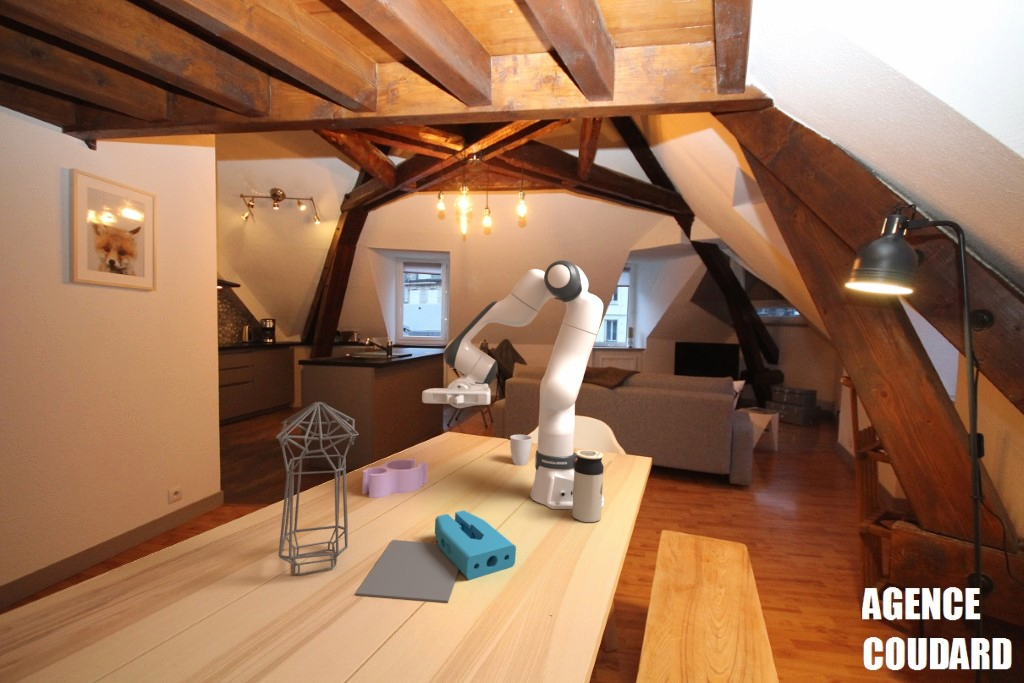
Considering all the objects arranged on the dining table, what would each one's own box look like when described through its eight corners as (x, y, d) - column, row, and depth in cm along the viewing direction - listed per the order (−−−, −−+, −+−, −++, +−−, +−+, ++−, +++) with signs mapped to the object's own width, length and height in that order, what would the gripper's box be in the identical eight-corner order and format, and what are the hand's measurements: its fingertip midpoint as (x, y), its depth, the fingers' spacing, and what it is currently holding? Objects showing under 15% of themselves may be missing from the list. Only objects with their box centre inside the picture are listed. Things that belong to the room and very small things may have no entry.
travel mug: (567, 518, 129) (570, 454, 129) (577, 509, 136) (580, 447, 136) (595, 525, 126) (599, 459, 125) (604, 515, 133) (607, 452, 132)
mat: (467, 547, 111) (467, 545, 111) (447, 602, 89) (447, 600, 89) (392, 541, 112) (392, 539, 112) (355, 595, 91) (355, 593, 90)
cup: (531, 460, 181) (532, 435, 181) (530, 467, 173) (531, 440, 172) (510, 459, 182) (511, 433, 181) (508, 465, 174) (509, 439, 173)
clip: (377, 502, 136) (378, 478, 136) (355, 490, 144) (355, 468, 144) (432, 485, 151) (433, 464, 150) (409, 476, 159) (409, 455, 159)
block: (427, 537, 114) (466, 580, 97) (428, 517, 113) (467, 557, 97) (471, 527, 120) (514, 565, 104) (472, 508, 120) (516, 544, 103)
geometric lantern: (279, 550, 106) (281, 396, 104) (352, 541, 112) (356, 395, 110) (270, 589, 91) (273, 411, 90) (355, 576, 97) (359, 408, 95)
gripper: (427, 382, 146) (415, 389, 133) (493, 383, 145) (487, 390, 131) (427, 402, 147) (415, 411, 133) (493, 404, 145) (487, 412, 132)
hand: (452, 400), depth 132 cm, fingers closed
